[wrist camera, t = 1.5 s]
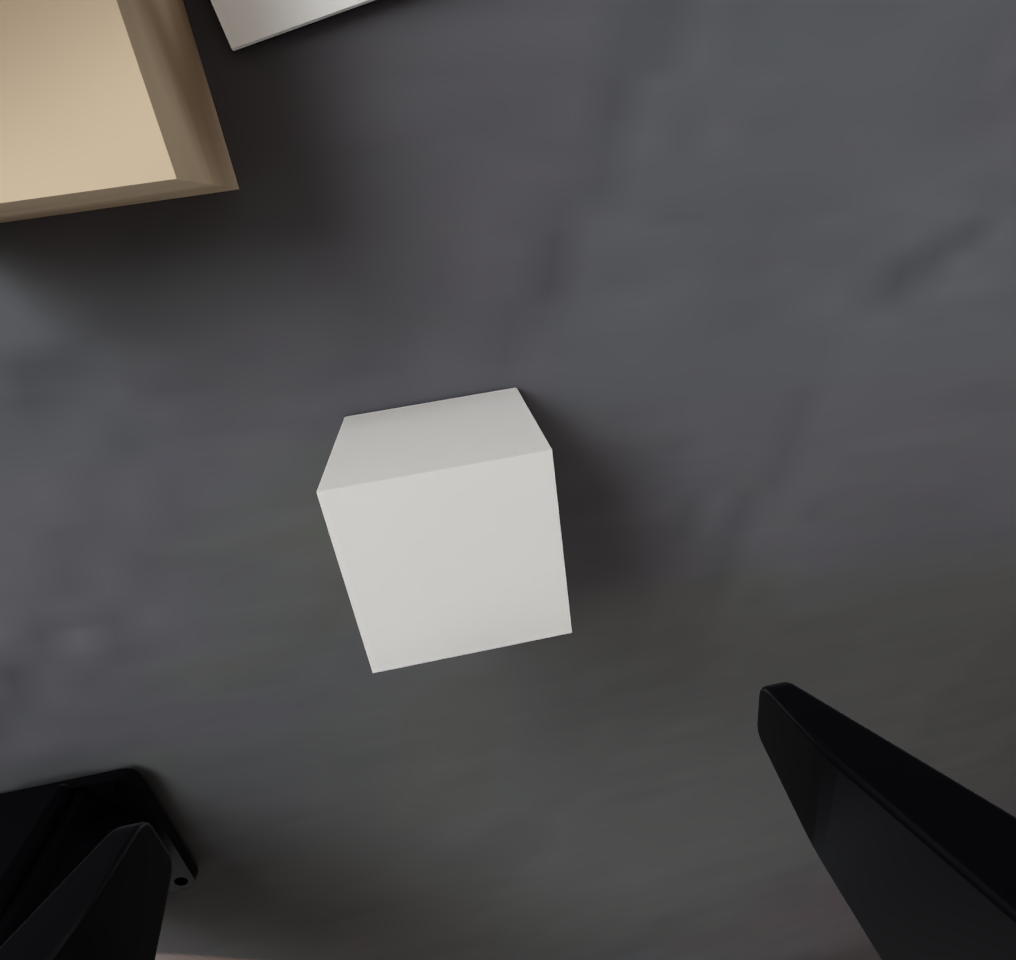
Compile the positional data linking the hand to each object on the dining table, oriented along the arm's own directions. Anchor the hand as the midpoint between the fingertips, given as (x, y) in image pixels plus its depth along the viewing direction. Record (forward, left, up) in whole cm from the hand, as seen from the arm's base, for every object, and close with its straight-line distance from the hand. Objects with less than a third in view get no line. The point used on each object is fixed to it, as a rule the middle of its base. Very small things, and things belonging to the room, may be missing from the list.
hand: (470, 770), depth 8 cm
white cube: (0, 0, -10) cm, 10 cm away
